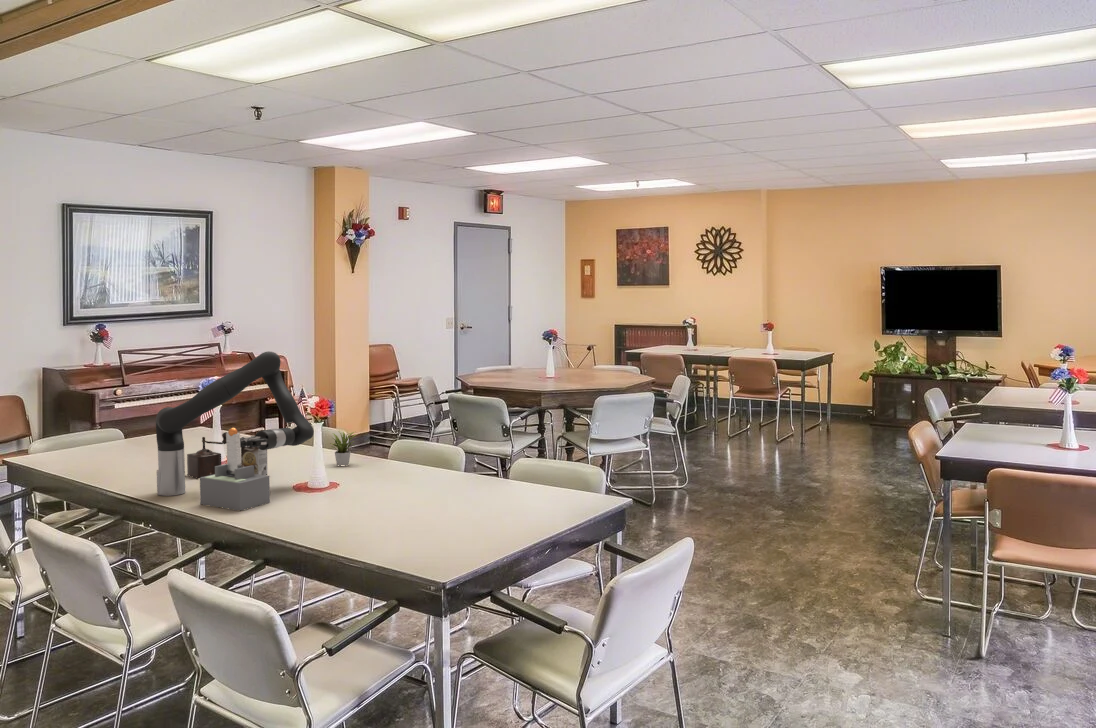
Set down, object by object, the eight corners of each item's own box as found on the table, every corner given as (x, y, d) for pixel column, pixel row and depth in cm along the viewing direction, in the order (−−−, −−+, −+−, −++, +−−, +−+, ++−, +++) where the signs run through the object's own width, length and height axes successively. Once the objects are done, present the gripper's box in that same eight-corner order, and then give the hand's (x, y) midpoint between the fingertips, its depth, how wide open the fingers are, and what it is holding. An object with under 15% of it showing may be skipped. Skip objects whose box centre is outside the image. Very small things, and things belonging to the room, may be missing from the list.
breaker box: (240, 511, 287) (239, 472, 286) (200, 504, 296) (199, 466, 295) (269, 502, 299) (269, 465, 298) (231, 496, 308) (230, 460, 307)
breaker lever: (237, 477, 294) (235, 429, 292) (225, 475, 297) (223, 427, 295) (244, 475, 297) (242, 427, 295) (232, 473, 299) (230, 426, 298)
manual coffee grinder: (199, 479, 337) (198, 436, 336) (186, 475, 344) (185, 433, 343) (234, 473, 349) (233, 432, 348) (221, 469, 356) (220, 429, 355)
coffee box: (240, 476, 344) (239, 438, 343) (250, 473, 350) (249, 436, 349) (258, 477, 341) (257, 439, 340) (268, 474, 347) (267, 437, 346)
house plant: (366, 462, 374) (365, 427, 373) (356, 468, 360) (355, 432, 359) (336, 461, 375) (335, 426, 374) (325, 467, 362) (324, 431, 360)
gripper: (257, 428, 315) (222, 433, 299) (283, 430, 309) (248, 436, 293) (257, 447, 315) (222, 453, 299) (283, 450, 309) (248, 456, 294)
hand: (235, 444), depth 296 cm, fingers closed
